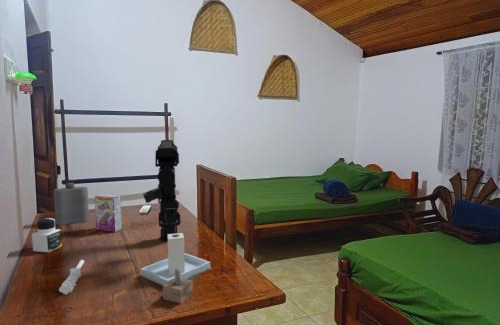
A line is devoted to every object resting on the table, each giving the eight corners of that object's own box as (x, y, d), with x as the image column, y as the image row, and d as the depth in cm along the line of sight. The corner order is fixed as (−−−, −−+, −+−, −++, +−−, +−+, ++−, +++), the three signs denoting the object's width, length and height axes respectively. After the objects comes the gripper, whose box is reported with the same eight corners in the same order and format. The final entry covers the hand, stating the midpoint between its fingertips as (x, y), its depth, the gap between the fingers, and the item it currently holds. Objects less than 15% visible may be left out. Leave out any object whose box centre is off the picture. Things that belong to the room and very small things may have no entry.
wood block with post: (175, 289, 100) (175, 264, 100) (192, 293, 98) (192, 267, 97) (163, 299, 95) (162, 272, 94) (181, 303, 93) (180, 276, 92)
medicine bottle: (48, 252, 129) (46, 222, 128) (32, 251, 131) (30, 221, 129) (62, 246, 136) (60, 217, 135) (47, 245, 137) (45, 216, 136)
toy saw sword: (89, 264, 119) (72, 294, 98) (77, 265, 118) (57, 296, 97) (88, 257, 119) (71, 286, 97) (76, 258, 118) (56, 288, 96)
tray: (183, 258, 124) (183, 252, 123) (210, 269, 115) (210, 262, 115) (140, 275, 110) (140, 268, 109) (167, 288, 101) (167, 280, 101)
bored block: (168, 268, 114) (167, 234, 113) (183, 266, 115) (182, 232, 114) (169, 274, 109) (168, 238, 108) (184, 272, 111) (184, 237, 109)
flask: (88, 218, 176) (86, 181, 174) (89, 221, 171) (87, 183, 169) (55, 223, 168) (53, 183, 166) (55, 226, 163) (53, 185, 161)
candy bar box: (95, 230, 157) (93, 195, 155) (103, 227, 162) (101, 193, 160) (114, 232, 153) (113, 197, 152) (122, 229, 158) (121, 195, 156)
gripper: (143, 178, 129) (144, 218, 130) (144, 186, 111) (145, 231, 113) (173, 177, 133) (173, 216, 134) (178, 184, 115) (179, 228, 116)
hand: (168, 222), depth 124 cm, fingers open, 9 cm apart
